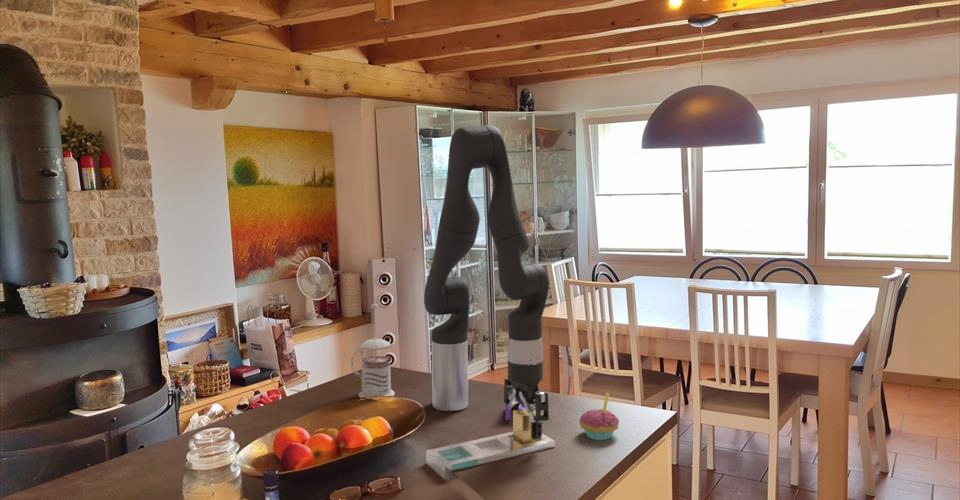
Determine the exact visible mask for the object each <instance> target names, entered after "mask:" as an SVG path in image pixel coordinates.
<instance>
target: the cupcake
mask: <svg viewBox="0 0 960 500" xmlns="http://www.w3.org/2000/svg"><path fill="white" fill-rule="evenodd" d="M609 392H610V390H607V392H606V393H605V396H604V402H603V407H602V408H599V409H590V410H587V411H585V412H583V414H582V415H581V416H580V418H579V425H580V428H581V429H582V430H584V432H585V435H586V436H587V438H589V439H592V440H595V441H604V440H605V441H606V440H609V439H611V438H612V437H613V435H614V434H613V433H614V431H616V430H618V428H619V421H620V419H619V418H618V417H617V416H616V414H614V413H612V412H611V411H609V410H607V406H608V402H609V401H608V400H609V395H610V394H609Z"/></svg>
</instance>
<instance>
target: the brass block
mask: <svg viewBox="0 0 960 500" xmlns="http://www.w3.org/2000/svg"><path fill="white" fill-rule="evenodd" d="M534 415H535V416H536V411H534ZM531 422H532V421H531V418H530V415H529V413H527V412H526V410H525V408H524V409H519V410H514V411H513V427H512V432H513V440H515V441H516V442H518V443H519V444H521V445H524V444H528V443H532V442H537V441H539V439H535V440H534V439H532V438H531Z"/></svg>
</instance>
